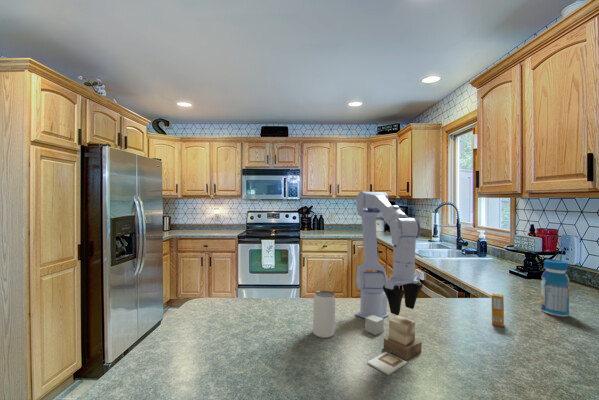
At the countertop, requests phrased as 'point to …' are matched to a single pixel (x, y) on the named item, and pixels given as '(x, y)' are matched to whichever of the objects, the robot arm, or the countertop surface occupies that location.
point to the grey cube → (374, 324)
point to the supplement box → (497, 310)
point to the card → (387, 363)
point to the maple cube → (402, 330)
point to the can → (324, 314)
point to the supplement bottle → (555, 288)
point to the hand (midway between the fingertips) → (402, 310)
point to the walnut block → (403, 347)
